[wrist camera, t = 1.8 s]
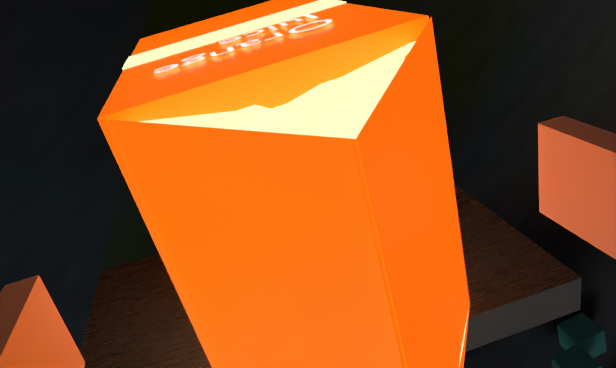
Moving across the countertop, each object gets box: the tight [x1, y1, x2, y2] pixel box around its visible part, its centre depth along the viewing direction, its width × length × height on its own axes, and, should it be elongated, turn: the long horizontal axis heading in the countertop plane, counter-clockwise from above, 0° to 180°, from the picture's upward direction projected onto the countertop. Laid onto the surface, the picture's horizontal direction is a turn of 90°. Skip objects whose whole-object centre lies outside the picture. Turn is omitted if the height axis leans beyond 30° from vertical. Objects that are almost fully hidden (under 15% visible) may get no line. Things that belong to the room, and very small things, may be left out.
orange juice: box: [97, 0, 470, 368], centre depth 17 cm, size 8×9×20 cm
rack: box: [80, 184, 582, 368], centre depth 19 cm, size 24×20×12 cm
